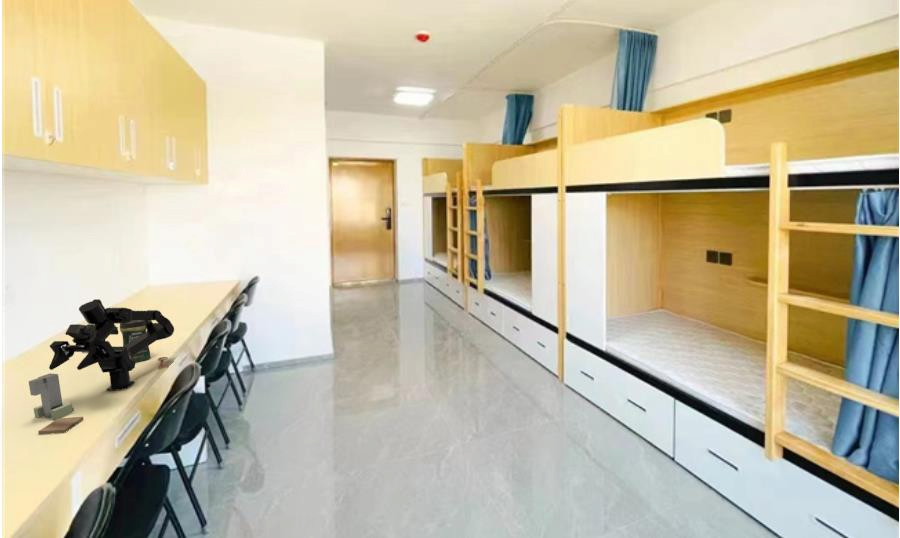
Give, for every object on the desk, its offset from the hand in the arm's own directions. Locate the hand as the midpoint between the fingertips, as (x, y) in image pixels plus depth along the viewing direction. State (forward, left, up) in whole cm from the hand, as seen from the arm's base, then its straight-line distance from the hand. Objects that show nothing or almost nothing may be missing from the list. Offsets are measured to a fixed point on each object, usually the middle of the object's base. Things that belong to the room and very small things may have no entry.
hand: (64, 368), depth 142 cm
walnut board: (+10, +3, -15) cm, 18 cm away
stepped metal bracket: (+2, -5, -15) cm, 16 cm away
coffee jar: (-51, -3, -15) cm, 53 cm away
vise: (0, -4, -15) cm, 15 cm away
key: (-44, +10, -15) cm, 48 cm away
